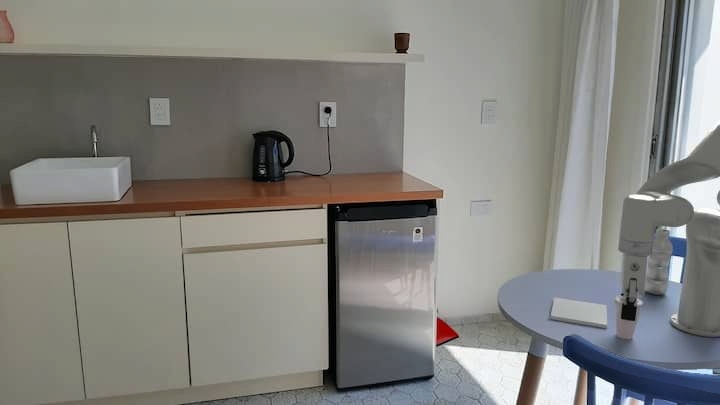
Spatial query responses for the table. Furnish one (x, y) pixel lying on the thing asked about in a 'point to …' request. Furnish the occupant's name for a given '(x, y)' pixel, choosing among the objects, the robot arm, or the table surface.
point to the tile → (579, 312)
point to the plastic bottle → (659, 263)
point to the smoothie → (625, 326)
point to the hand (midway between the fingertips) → (627, 313)
